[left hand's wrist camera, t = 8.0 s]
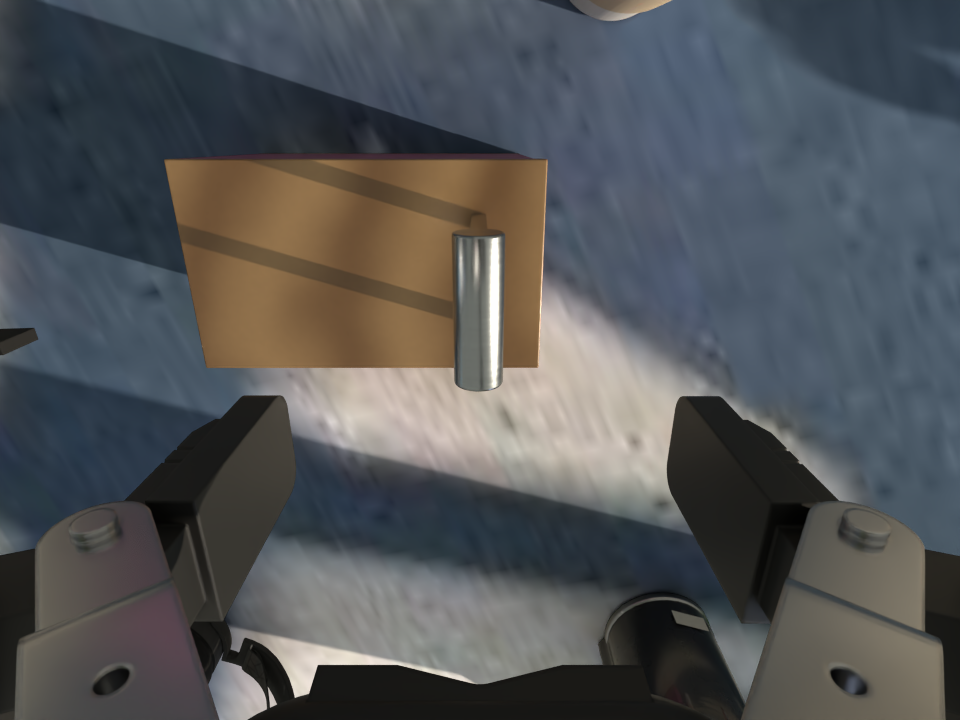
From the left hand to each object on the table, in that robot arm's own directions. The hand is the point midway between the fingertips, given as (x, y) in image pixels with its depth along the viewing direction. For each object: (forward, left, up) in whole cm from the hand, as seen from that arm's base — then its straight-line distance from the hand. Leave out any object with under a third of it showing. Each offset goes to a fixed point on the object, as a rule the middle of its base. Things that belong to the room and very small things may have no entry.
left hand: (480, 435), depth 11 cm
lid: (-3, +4, -16) cm, 17 cm away
